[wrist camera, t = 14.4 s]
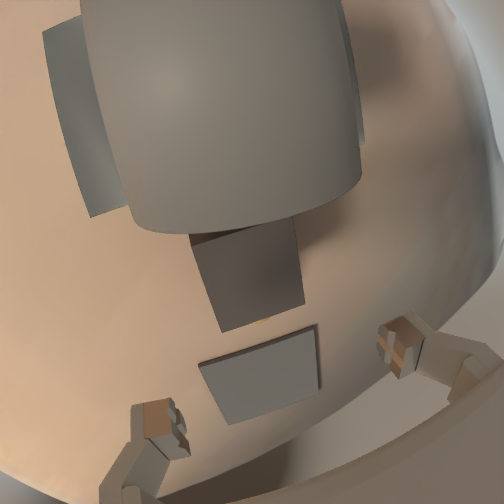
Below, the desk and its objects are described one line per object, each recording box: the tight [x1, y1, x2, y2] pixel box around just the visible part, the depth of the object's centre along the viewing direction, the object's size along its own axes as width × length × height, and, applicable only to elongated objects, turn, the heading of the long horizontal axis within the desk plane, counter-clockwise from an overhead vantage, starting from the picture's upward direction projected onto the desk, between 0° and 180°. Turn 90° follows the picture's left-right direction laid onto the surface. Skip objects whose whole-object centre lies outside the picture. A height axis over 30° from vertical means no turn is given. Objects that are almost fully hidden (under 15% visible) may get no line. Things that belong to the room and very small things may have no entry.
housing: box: [42, 0, 365, 234], centre depth 9 cm, size 6×9×12 cm, turn 101°
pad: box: [198, 326, 319, 425], centre depth 24 cm, size 9×9×1 cm
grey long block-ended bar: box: [189, 216, 305, 333], centre depth 13 cm, size 20×4×4 cm, turn 12°
